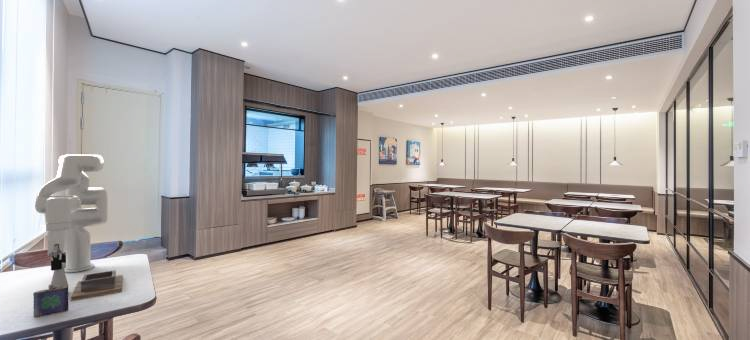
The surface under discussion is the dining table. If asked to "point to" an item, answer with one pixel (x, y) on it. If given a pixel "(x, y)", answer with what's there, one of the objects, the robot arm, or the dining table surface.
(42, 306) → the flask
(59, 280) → the salt shaker
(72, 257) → the robot arm
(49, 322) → the dining table surface
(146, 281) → the dining table surface
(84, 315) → the dining table surface
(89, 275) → the holder board
